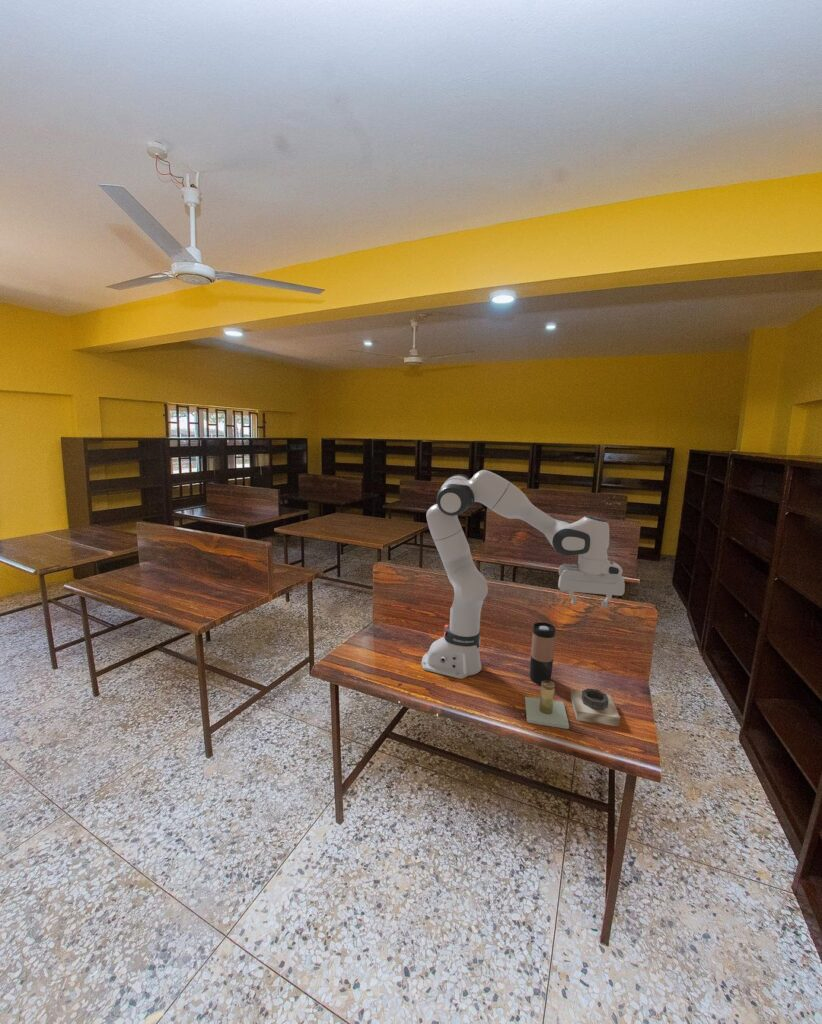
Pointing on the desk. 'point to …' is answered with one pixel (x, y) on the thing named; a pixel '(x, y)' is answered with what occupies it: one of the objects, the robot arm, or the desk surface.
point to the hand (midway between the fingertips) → (589, 605)
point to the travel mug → (542, 652)
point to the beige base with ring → (594, 707)
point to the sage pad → (554, 719)
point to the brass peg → (547, 696)
